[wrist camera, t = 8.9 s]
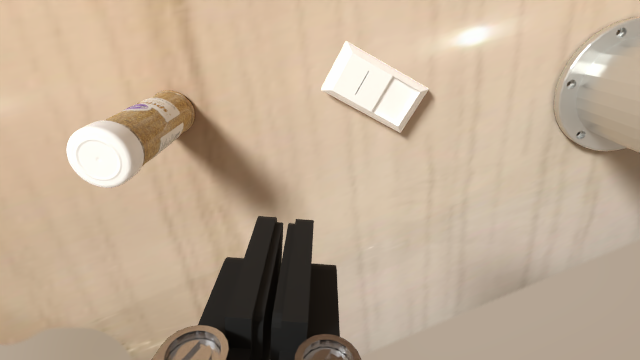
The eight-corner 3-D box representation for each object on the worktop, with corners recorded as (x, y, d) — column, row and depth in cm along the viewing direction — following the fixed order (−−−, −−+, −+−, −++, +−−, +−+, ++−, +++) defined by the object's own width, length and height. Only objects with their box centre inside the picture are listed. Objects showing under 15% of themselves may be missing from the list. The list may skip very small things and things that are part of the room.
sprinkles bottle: (183, 83, 35) (108, 118, 23) (203, 125, 37) (144, 179, 25) (142, 97, 36) (49, 139, 24) (164, 139, 38) (88, 197, 26)
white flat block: (345, 40, 34) (347, 41, 32) (424, 85, 36) (431, 90, 33) (321, 86, 36) (321, 91, 33) (397, 128, 37) (402, 135, 35)
